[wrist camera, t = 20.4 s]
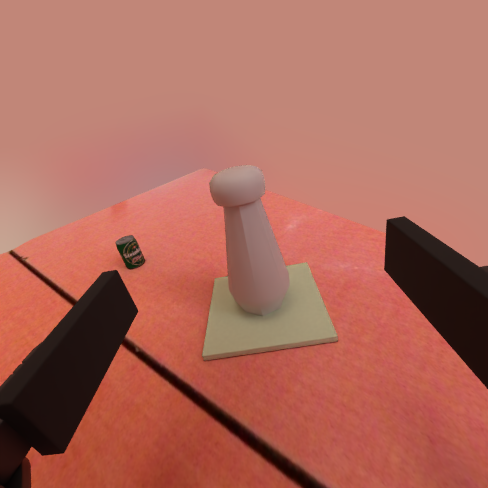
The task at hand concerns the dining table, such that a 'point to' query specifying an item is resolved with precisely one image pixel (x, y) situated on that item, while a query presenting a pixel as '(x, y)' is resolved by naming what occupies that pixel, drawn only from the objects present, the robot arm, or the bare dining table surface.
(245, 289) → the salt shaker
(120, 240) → the beer can
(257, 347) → the light mat
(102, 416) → the dining table surface
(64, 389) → the robot arm
